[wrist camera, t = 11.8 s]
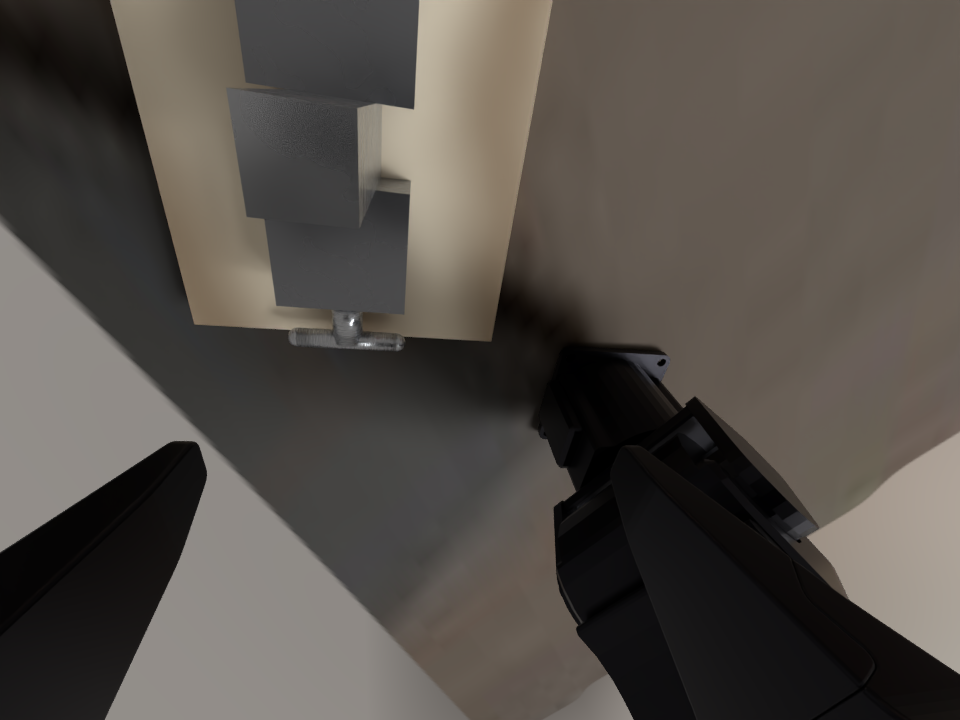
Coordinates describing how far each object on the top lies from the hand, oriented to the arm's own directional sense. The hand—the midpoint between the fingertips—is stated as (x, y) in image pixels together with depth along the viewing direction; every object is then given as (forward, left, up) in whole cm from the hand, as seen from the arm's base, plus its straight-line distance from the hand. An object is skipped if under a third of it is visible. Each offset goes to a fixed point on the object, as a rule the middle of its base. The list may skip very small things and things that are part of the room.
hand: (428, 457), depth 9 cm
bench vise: (+3, -4, -10) cm, 12 cm away
